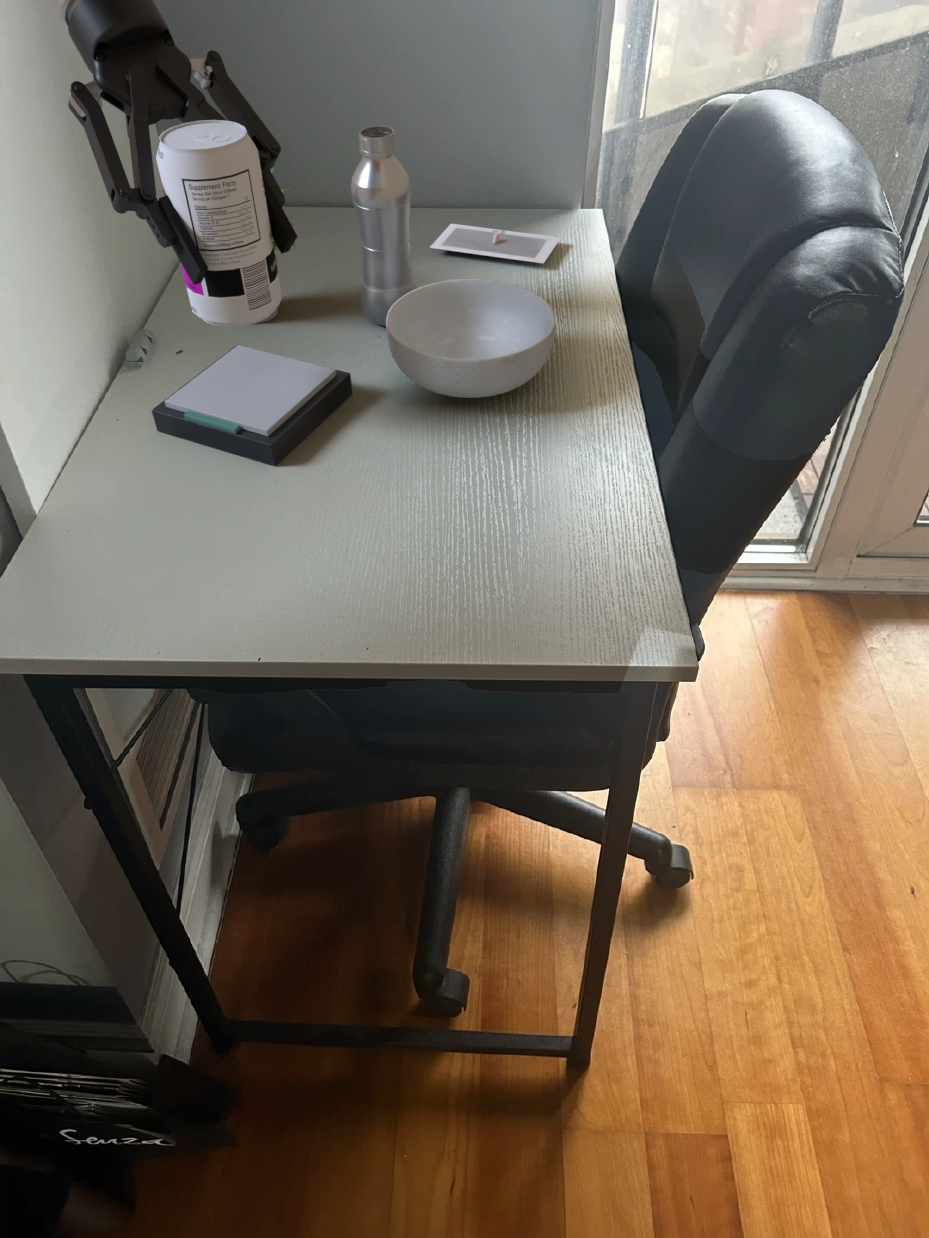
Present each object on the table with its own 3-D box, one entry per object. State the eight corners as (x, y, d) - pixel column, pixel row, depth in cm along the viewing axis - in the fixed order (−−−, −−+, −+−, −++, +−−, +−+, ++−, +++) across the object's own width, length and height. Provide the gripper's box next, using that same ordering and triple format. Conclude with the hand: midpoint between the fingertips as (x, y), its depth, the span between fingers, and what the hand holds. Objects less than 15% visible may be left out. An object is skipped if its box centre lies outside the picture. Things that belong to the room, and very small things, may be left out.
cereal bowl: (399, 431, 92) (394, 366, 87) (383, 347, 104) (377, 285, 99) (569, 413, 94) (573, 348, 88) (534, 332, 105) (536, 271, 100)
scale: (275, 466, 88) (269, 438, 86) (157, 431, 93) (149, 403, 90) (352, 393, 97) (349, 366, 95) (241, 364, 101) (236, 338, 99)
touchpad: (543, 272, 116) (543, 254, 114) (429, 256, 120) (429, 239, 118) (560, 246, 121) (561, 229, 120) (451, 232, 125) (450, 215, 123)
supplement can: (174, 321, 85) (130, 145, 74) (224, 282, 90) (189, 113, 80) (252, 337, 83) (218, 157, 72) (298, 296, 88) (272, 123, 77)
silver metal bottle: (365, 335, 105) (346, 146, 91) (361, 307, 110) (342, 123, 96) (422, 330, 106) (412, 141, 92) (415, 302, 111) (405, 119, 97)
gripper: (-18, 0, 70) (142, 279, 73) (227, -43, 80) (359, 204, 82) (-18, 66, 77) (128, 319, 79) (208, 18, 86) (331, 245, 89)
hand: (246, 260), depth 81 cm, fingers closed on supplement can, 8 cm apart
